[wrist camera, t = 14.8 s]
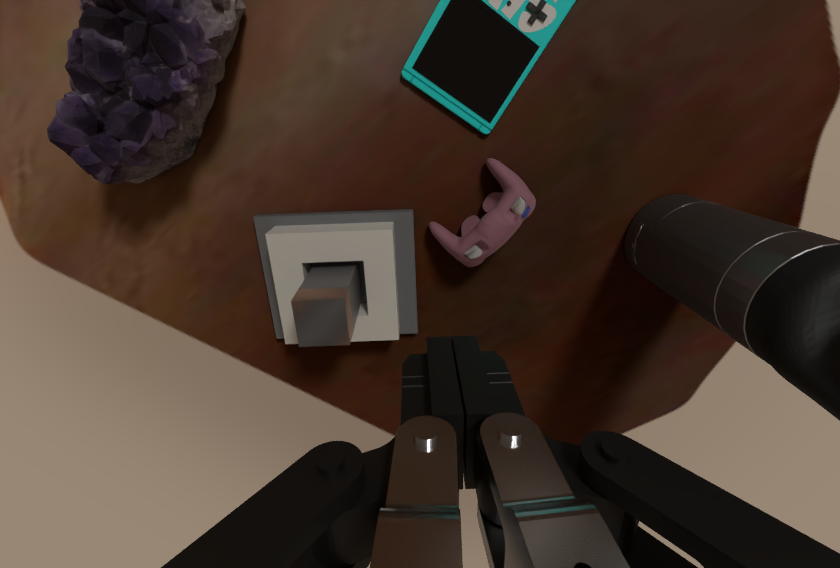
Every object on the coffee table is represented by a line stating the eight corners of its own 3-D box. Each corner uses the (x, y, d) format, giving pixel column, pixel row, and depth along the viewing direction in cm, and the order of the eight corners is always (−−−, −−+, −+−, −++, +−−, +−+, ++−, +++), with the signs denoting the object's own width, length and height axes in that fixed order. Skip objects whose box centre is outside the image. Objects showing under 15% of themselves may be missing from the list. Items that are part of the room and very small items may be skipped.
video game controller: (449, 244, 45) (477, 283, 40) (421, 225, 42) (449, 264, 37) (513, 175, 42) (553, 207, 38) (489, 149, 39) (529, 181, 35)
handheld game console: (596, -30, 35) (603, -36, 34) (487, 138, 40) (489, 138, 39) (502, -112, 33) (505, -121, 32) (399, 76, 38) (398, 75, 37)
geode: (212, 206, 42) (138, 230, 32) (106, 153, 41) (-1, 161, 32) (273, -11, 34) (198, -61, 25) (143, -81, 33) (17, -160, 24)
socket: (412, 209, 42) (413, 218, 38) (417, 328, 47) (418, 347, 44) (256, 214, 42) (241, 224, 38) (279, 334, 47) (268, 353, 44)
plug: (358, 258, 43) (344, 298, 34) (362, 296, 45) (349, 344, 35) (316, 260, 43) (290, 301, 34) (322, 298, 45) (298, 347, 35)
